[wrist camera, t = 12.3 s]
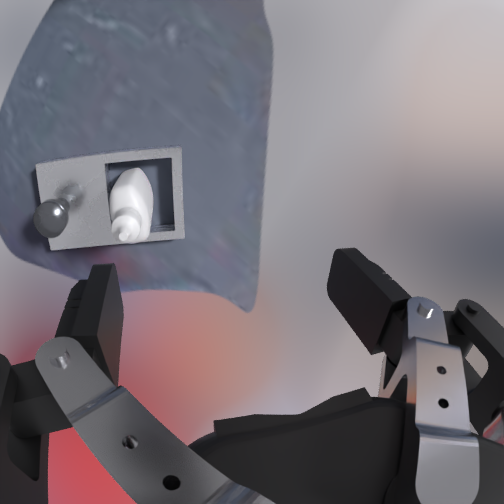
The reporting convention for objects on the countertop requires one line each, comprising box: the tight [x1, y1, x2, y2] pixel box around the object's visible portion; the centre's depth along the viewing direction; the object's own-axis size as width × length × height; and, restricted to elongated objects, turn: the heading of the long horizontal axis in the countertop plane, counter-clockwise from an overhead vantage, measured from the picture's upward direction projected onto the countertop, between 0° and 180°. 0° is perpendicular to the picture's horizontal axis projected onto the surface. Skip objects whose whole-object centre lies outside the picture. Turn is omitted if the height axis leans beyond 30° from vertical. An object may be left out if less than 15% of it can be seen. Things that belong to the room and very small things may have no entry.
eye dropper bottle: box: [110, 168, 153, 244], centre depth 27 cm, size 4×6×12 cm
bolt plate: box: [33, 145, 185, 250], centre depth 29 cm, size 10×16×6 cm, turn 87°
